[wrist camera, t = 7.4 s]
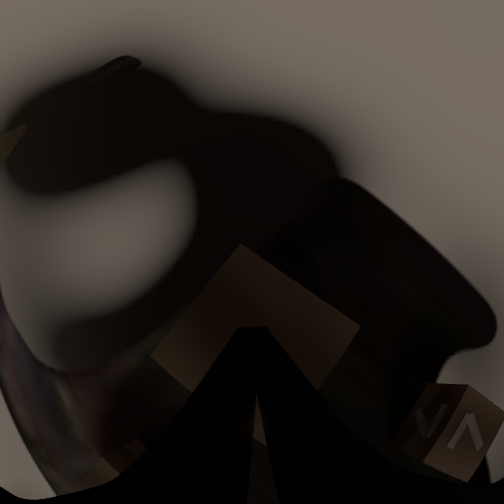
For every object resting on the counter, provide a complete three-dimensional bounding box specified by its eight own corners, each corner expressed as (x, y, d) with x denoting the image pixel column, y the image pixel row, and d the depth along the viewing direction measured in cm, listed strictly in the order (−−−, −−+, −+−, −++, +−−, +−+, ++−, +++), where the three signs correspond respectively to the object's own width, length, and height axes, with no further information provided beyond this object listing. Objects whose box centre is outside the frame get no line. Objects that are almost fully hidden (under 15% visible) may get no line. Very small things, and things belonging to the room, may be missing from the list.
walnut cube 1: (156, 517, 13) (130, 548, 8) (104, 473, 14) (67, 493, 10) (193, 483, 14) (172, 516, 10) (135, 437, 16) (99, 455, 11)
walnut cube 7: (431, 464, 14) (468, 482, 9) (387, 442, 15) (422, 462, 10) (465, 408, 15) (507, 413, 10) (426, 381, 16) (468, 383, 11)
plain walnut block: (268, 414, 16) (270, 448, 9) (193, 358, 18) (149, 355, 11) (324, 339, 18) (360, 326, 11) (249, 287, 19) (240, 243, 12)
